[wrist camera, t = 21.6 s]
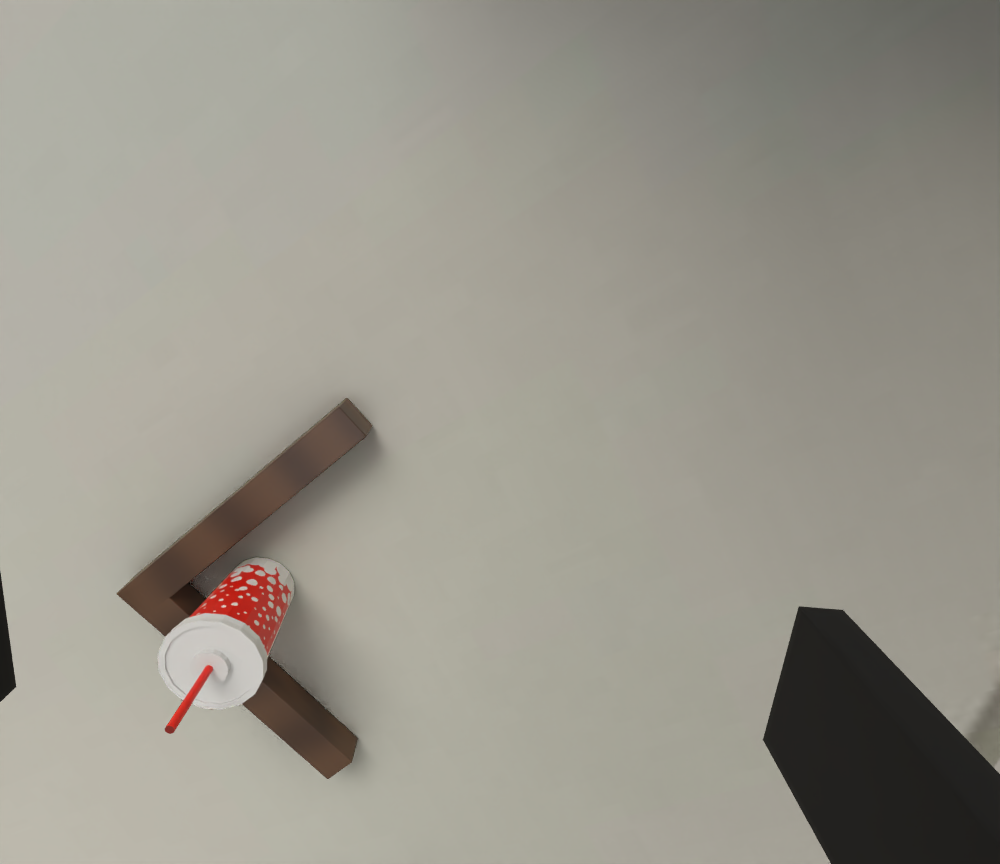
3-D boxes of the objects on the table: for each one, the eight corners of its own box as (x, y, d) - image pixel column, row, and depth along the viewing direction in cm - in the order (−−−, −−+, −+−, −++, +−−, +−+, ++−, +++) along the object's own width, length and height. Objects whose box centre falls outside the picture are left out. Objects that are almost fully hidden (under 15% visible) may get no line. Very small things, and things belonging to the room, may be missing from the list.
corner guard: (373, 400, 42) (367, 409, 40) (357, 756, 50) (350, 781, 48) (121, 376, 41) (99, 384, 39) (146, 741, 50) (130, 766, 47)
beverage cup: (227, 537, 45) (116, 665, 31) (314, 560, 45) (241, 695, 32) (212, 611, 46) (100, 763, 33) (295, 632, 47) (219, 789, 34)
